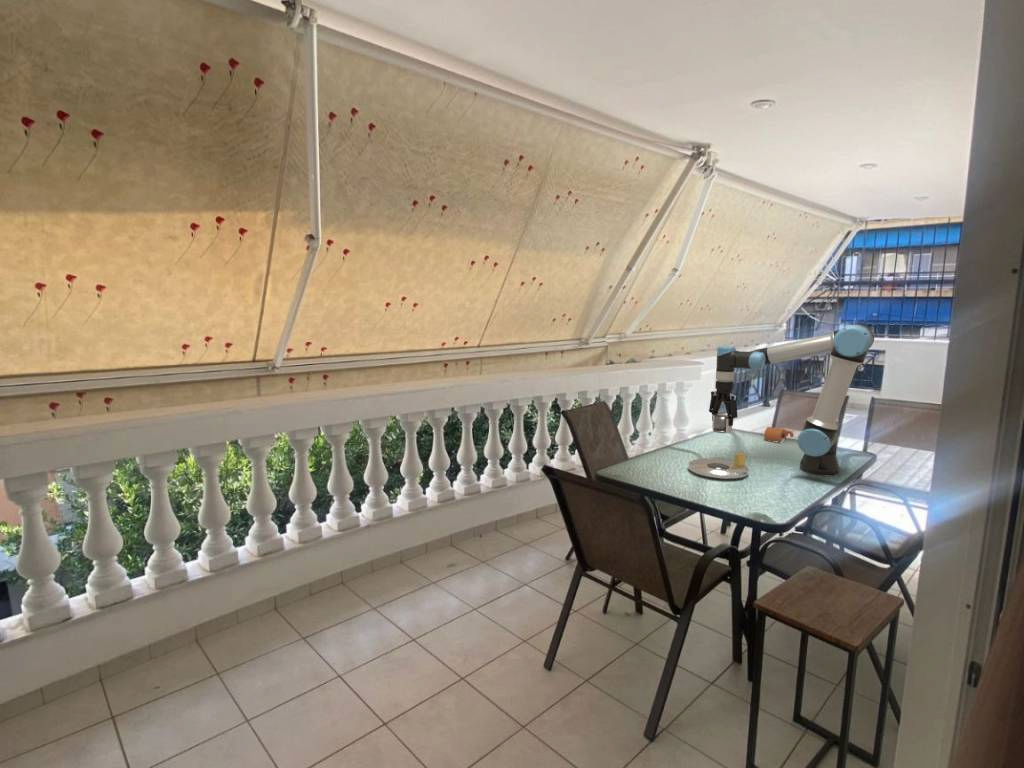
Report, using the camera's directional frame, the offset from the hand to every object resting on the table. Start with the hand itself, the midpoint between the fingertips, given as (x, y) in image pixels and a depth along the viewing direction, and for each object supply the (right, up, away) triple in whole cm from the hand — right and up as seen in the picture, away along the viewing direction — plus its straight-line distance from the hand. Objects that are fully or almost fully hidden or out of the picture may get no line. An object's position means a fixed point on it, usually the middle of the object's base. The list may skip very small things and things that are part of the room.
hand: (721, 430), depth 248 cm
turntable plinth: (-6, -17, -12) cm, 22 cm away
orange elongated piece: (+46, -9, +42) cm, 63 cm away
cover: (0, 0, 0) cm, 0 cm away
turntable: (-6, -16, -12) cm, 21 cm away
